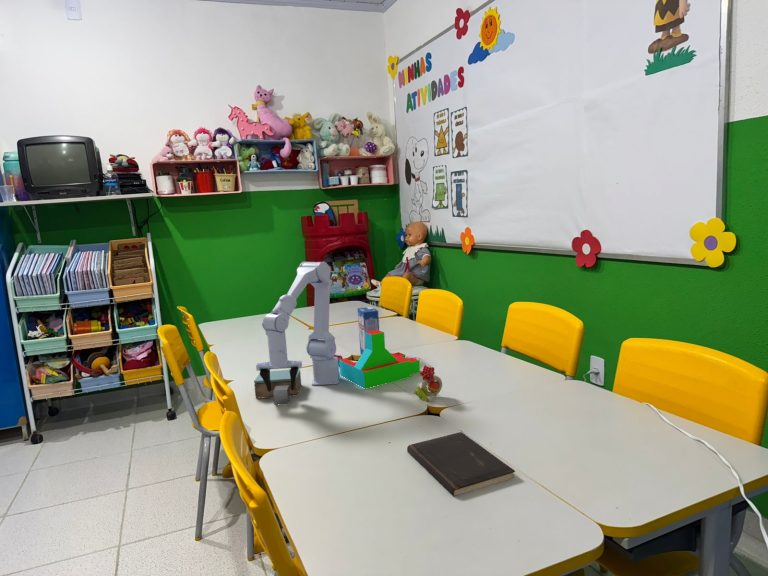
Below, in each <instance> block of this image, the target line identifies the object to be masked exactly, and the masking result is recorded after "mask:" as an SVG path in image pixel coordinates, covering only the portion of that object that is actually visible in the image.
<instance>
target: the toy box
mask: <svg viewBox="0 0 768 576" xmlns="http://www.w3.org/2000/svg"><path fill="white" fill-rule="evenodd" d="M301 377H302V376H301V372H300V373H299V375H298V377H297V379H296V381H295V388H294V390H291V381H283V382H271V391H270V392H268V389H267V386H266V384H265V383H254V385H253V386H254V396H255V399H263V398H262V397H270V398H274V394H273V390H274V388H275V387H276V386H283V385H289V387H290V397H297V396H298V395H299V392H300V389H301V387H302V378H301ZM298 391H299V392H298ZM259 397H260V398H259Z"/></svg>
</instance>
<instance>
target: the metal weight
mask: <svg viewBox="0 0 768 576" xmlns="http://www.w3.org/2000/svg"><path fill="white" fill-rule="evenodd" d="M273 394H274V397H273V403H274V406H279V405H278V404H286V405H289V404H290V402H291V396H290V387H289V385H283V386H276V387H275V388H274V390H273ZM289 401H290V402H289ZM288 403H289V404H288Z"/></svg>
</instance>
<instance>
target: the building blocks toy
mask: <svg viewBox="0 0 768 576" xmlns="http://www.w3.org/2000/svg"><path fill="white" fill-rule="evenodd" d="M385 342H386V341H385V332H384V331H381V330H380V329H379V330H374V331H369V332H365V343H366V349H365V350H364V352H363V353H362V355H361V354H360V357H359V359H358V360H357V361H355V362H354V361H352V360H350V359H348V358H346V357H345V358H343V359H340V360H339V372H340V375H341V376H343V377H345V378H346V379H345V378H344V379H345V380H347V379H348V380H347V381H349V380H350V381H349V382H351V381H352V382H354V383H355V385H356V384H357V385H356V386H358V385H359V386H358V387H360V386H361V387H360V388H362V387H363V388H365V389H364V390H367V389H366V388H368V389H371V388H370V387H372V388H374V387H373V386H376V387H378V386H377V385H380V386H382V385H381V384H383V385H386V384H385V383H387V384H391V383H395V382H398V381H401V380H402V381H403V380H405V379H409V378H411V375H415V374H418V373H419V374H420V372H421V367H420V366H421V365H420V359H418V358H416V357H415V358H414V357H409V358H406V354H404V353H401V352H393V353H392V352H390V351H389V350H388V349H387V348H386V343H385ZM341 376H340V377H341ZM343 377H342V378H343ZM352 382H351V383H352ZM354 383H353V384H354ZM363 388H362V389H363Z"/></svg>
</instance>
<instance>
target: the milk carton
mask: <svg viewBox="0 0 768 576" xmlns="http://www.w3.org/2000/svg"><path fill="white" fill-rule="evenodd" d="M357 323H358V337H359V350H360V351H359V352H360V356H361V355H362V353H363V352H364V350H365V349H366V343H365V332H369V331H374V330H379V331H380V319H379V310H378V309H376V308H374V307H373V306H367V307H359V308H357Z"/></svg>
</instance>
